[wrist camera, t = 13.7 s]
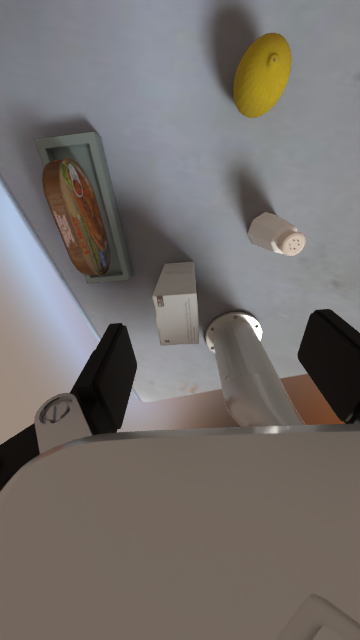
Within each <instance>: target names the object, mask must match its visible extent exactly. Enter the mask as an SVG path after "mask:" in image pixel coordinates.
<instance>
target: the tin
mask: <svg viewBox="0 0 360 640" xmlns="http://www.w3.org/2000/svg"><path fill="white" fill-rule="evenodd" d="M42 179H43V188H44V192H45V196H46V199H47V202H48V204H49V207H50V209H51V212H52V214H53V217H54V219H55V222H56V224H57V227H58V229H59V232H60V234H61V237H62V239H63V242H64V244H65V247H66V249H67V251H68V254H69V256H70V259H71V261H72V263H73V264H74V266H75V267H76V268H77V269H78V270H79V271H80V272H81V273H83V274H85V275H100V276H102V275H105V274H106V273H107V272H108V270H109V266H110V259H111V255H110V247H109V243H108V239H107V236H106V232H105V228H104V225H103V221H102V218H101V214H100V211H99V207H98V204H97V200H96V196H95V193H94V190H93V187H92V185H91V183H90V180H89V178H88V177H87V175H86V173H85V172H84V170H83V169H82V167H81V166H80V165H79V164H78V163H77V162H76V161H74V160H73V159H71V158H65V159H63V160H55V161H51V162H49V163H48V164H46V166H45V167H44V170H43V176H42Z"/></svg>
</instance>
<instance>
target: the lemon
mask: <svg viewBox="0 0 360 640" xmlns="http://www.w3.org/2000/svg"><path fill="white" fill-rule="evenodd" d="M290 70H291V51H290V48H289V44H288V43H287V41H286V39H285V38H284V37H283V36H281V35H280V34H277V33H268V34H265V35H263V36H261V37H259V38H258V39H257V40H256V41H255V42H254V43H252V44H251V45H250V46H249V48H248V49H247V51H246V52H245V54H244V55H243V57H242V58H241V61H240V63H239V65H238V67H237V71H236V75H235V78H234V87H233V94H234V101H235V104H236V107H237V108H238V110H239V112H240V113H241V114H243V115H244V116H246V117H249V118H255V117H259V116H262V115H263V114H265V113H266V112H268V111H269V110H270V109H271V108H272V107H273V106H274V105H275V104H276V102H277V101H278V99H279V98H280V96H281V95H282V93H283V91H284V89H285V87H286V84H287V82H288V78H289V74H290Z"/></svg>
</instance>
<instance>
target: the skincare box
mask: <svg viewBox="0 0 360 640" xmlns="http://www.w3.org/2000/svg"><path fill="white" fill-rule="evenodd" d="M152 298H153V303H154V308H155V313H156V325H157V327H158V330H159V336H160V345H176V344H198V343H199V324H198V305H197V293H196V279H195V263H194V262H181V263H167V264H164V266H163V269H162V272H161V274H160V277H159V280H158V282H157V285H156V287H155V290H154V292H153V295H152Z"/></svg>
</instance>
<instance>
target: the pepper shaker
mask: <svg viewBox="0 0 360 640" xmlns="http://www.w3.org/2000/svg"><path fill="white" fill-rule="evenodd" d="M248 235H249V237H250V239H251V242H252V244H254V245H257V246H260V247H262V248H265V249H268V250H270V251H274V252H277V253H281V254H286V255H288V256H292V255H295V254H297V253H299V252H300V251H301V250H302V249H303V247H304V245H305V236H304V235H303V234H302V233H301V232H298V231H297V228H296V227H295V226H294V225H292V224H290V223H289V222H287V221H286V220H284V219H283V218H281V217H279V216H278V215H275V214H271V213H267V212H264V213H263V214H261V215H259V216H258V217H256V218H255V219H253V220H252V223H251V226H250V228H249V231H248Z"/></svg>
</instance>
